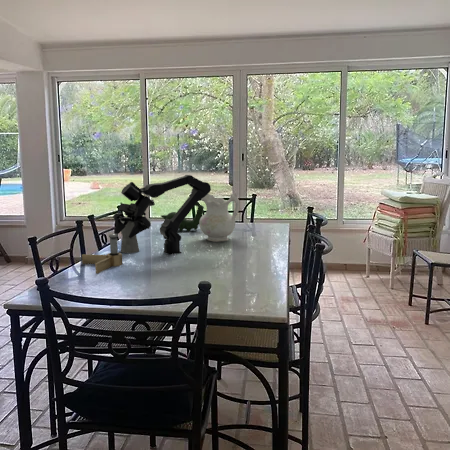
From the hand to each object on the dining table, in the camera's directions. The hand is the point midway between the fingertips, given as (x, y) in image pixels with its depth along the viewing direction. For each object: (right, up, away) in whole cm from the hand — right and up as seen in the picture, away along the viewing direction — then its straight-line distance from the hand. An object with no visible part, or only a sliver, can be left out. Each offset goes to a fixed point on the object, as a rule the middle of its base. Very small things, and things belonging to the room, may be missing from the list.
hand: (121, 236), depth 194 cm
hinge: (-6, -12, -4) cm, 14 cm away
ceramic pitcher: (+41, -3, +49) cm, 64 cm away
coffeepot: (-2, -8, +24) cm, 25 cm away
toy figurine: (+19, +1, +74) cm, 77 cm away
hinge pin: (-3, -12, -2) cm, 12 cm away
